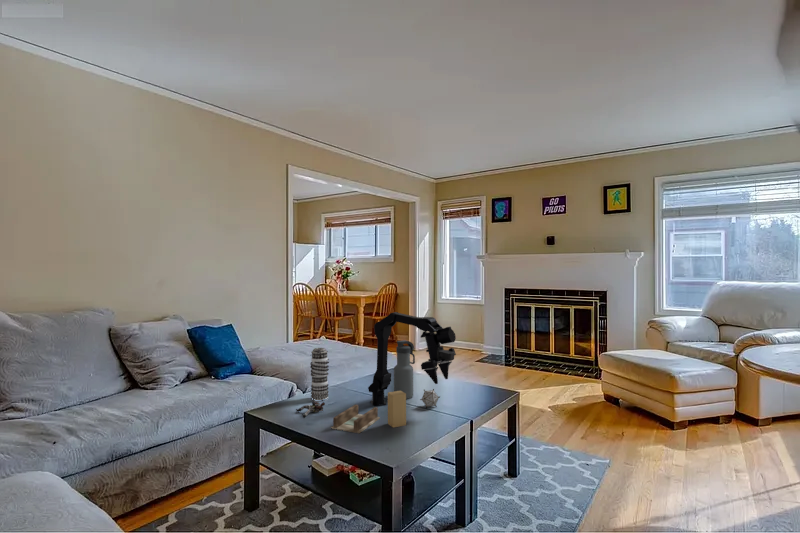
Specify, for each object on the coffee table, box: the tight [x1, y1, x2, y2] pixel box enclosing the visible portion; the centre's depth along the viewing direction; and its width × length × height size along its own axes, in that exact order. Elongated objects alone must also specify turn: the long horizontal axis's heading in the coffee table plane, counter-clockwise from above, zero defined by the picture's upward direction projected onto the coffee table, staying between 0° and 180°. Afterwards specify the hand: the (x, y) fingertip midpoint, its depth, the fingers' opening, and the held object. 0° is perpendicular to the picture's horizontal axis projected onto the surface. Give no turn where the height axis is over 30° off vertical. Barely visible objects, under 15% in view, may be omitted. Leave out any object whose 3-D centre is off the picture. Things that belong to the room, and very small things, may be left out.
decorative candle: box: [309, 347, 330, 400], centre depth 215 cm, size 9×9×25 cm
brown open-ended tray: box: [330, 404, 380, 434], centre depth 180 cm, size 18×13×5 cm
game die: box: [419, 388, 441, 409], centre depth 201 cm, size 9×8×10 cm
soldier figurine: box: [295, 399, 326, 418], centre depth 193 cm, size 8×11×12 cm
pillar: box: [387, 391, 407, 428], centre depth 179 cm, size 5×6×13 cm
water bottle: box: [393, 339, 416, 400], centre depth 218 cm, size 10×10×28 cm
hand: (441, 381), depth 188 cm, fingers open, 9 cm apart
